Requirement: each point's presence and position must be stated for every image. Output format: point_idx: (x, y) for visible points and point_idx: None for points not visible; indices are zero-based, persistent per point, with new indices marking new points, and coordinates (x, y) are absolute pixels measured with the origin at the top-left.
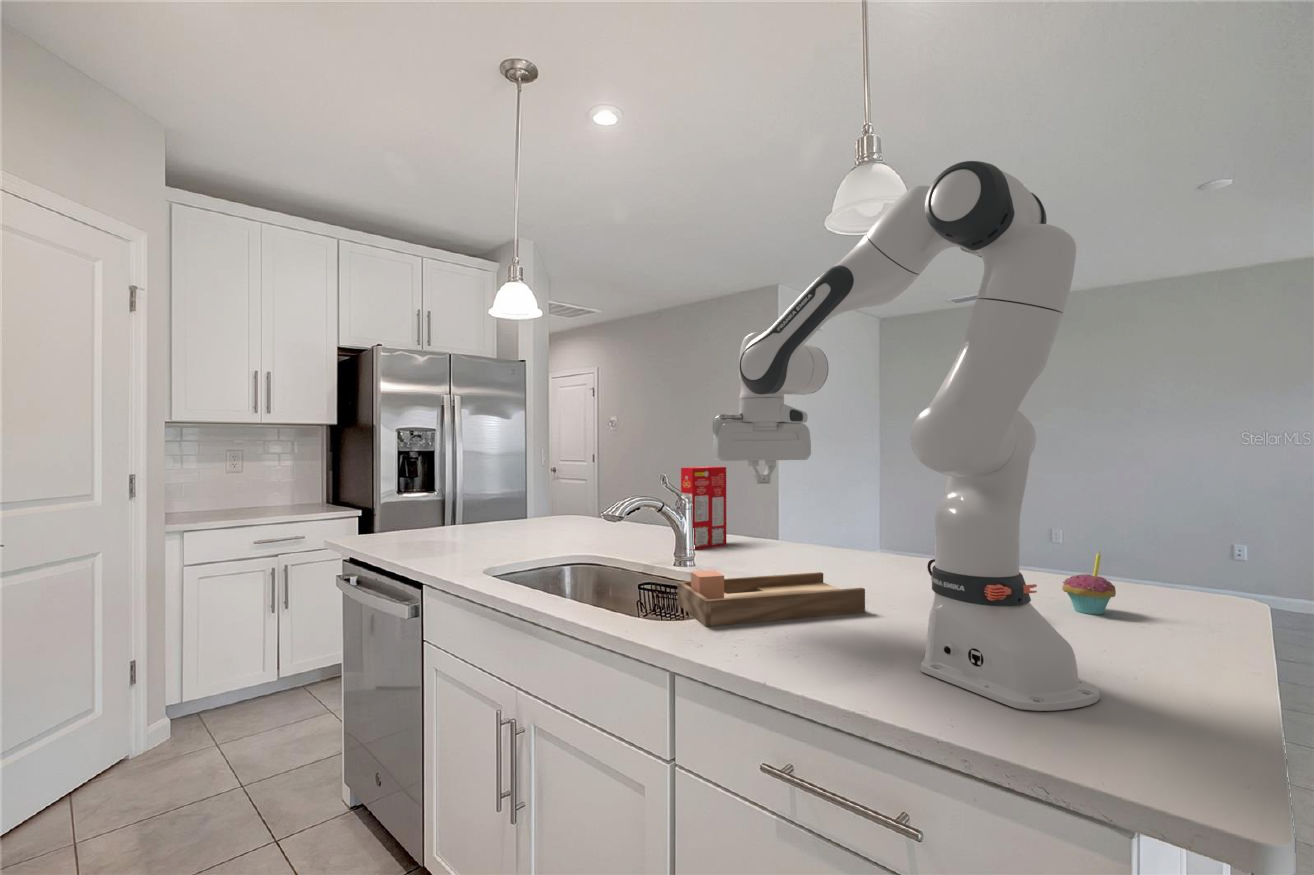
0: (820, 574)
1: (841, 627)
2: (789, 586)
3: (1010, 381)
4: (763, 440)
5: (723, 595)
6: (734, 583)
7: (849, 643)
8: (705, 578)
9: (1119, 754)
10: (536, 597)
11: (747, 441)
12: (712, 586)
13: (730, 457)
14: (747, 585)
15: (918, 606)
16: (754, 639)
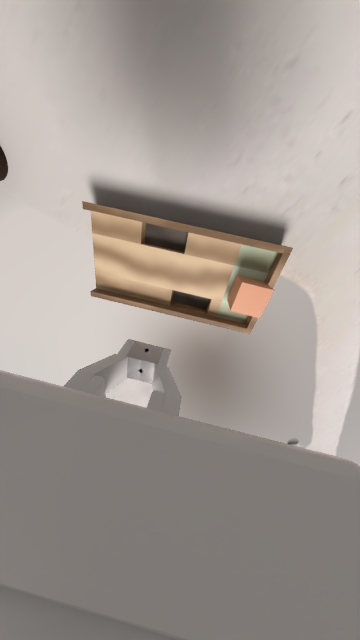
0: (94, 291)
1: (157, 162)
2: (137, 292)
3: None
4: (41, 597)
5: (238, 276)
6: (191, 313)
7: (192, 85)
8: (265, 287)
9: None
10: (326, 391)
11: (226, 628)
12: (254, 282)
13: (321, 466)
14: (178, 308)
15: (32, 194)
16: (276, 171)
